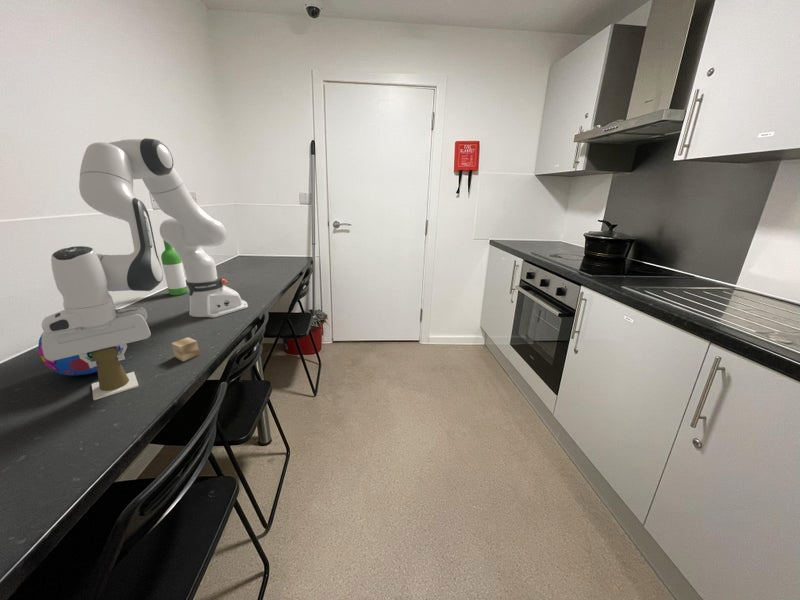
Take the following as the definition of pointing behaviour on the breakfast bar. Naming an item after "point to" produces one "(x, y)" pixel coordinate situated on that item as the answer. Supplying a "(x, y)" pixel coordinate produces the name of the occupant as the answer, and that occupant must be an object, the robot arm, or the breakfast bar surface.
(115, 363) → the cork
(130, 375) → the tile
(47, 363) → the ceramic pot
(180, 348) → the oak cube
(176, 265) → the wine bottle
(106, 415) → the breakfast bar surface
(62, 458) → the breakfast bar surface
